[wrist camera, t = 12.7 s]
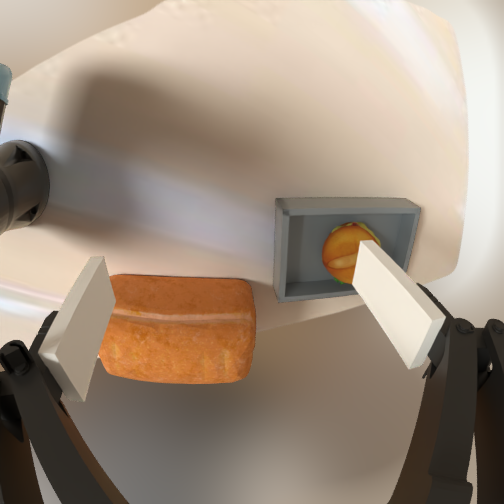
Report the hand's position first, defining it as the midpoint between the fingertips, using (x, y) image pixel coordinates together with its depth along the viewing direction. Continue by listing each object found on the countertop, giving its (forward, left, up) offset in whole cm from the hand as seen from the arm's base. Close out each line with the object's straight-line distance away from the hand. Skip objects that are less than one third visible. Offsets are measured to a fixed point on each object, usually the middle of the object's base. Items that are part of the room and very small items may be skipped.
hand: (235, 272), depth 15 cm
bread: (-9, -25, -31) cm, 41 cm away
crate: (+20, -14, -31) cm, 39 cm away
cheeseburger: (+20, -14, -30) cm, 39 cm away
